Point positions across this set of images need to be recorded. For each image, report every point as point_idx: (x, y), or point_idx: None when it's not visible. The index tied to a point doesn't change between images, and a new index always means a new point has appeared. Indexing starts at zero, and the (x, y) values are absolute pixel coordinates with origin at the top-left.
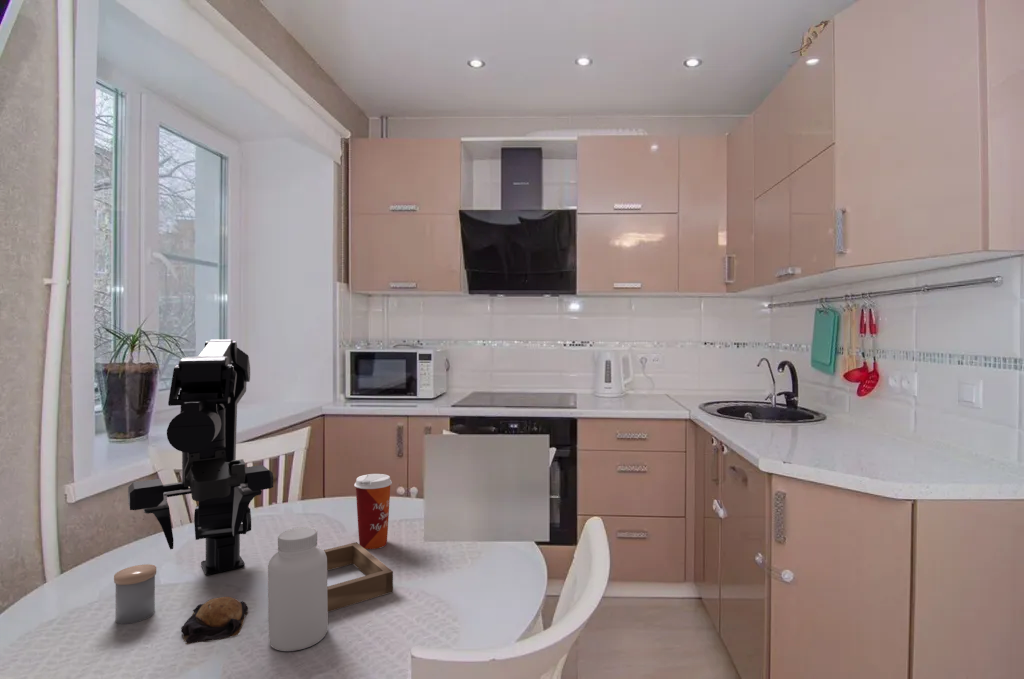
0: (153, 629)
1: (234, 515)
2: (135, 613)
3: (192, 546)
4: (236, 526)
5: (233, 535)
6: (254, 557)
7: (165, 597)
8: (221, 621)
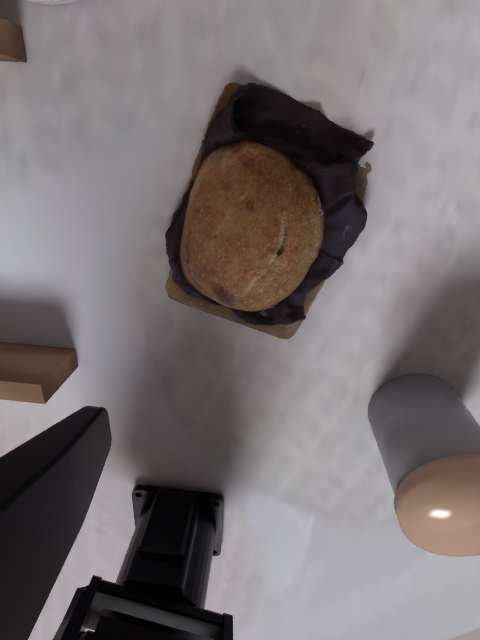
0: (406, 305)
1: (1, 596)
2: (435, 389)
3: None
4: (42, 453)
5: (106, 419)
6: (107, 514)
7: (327, 452)
8: (262, 150)
